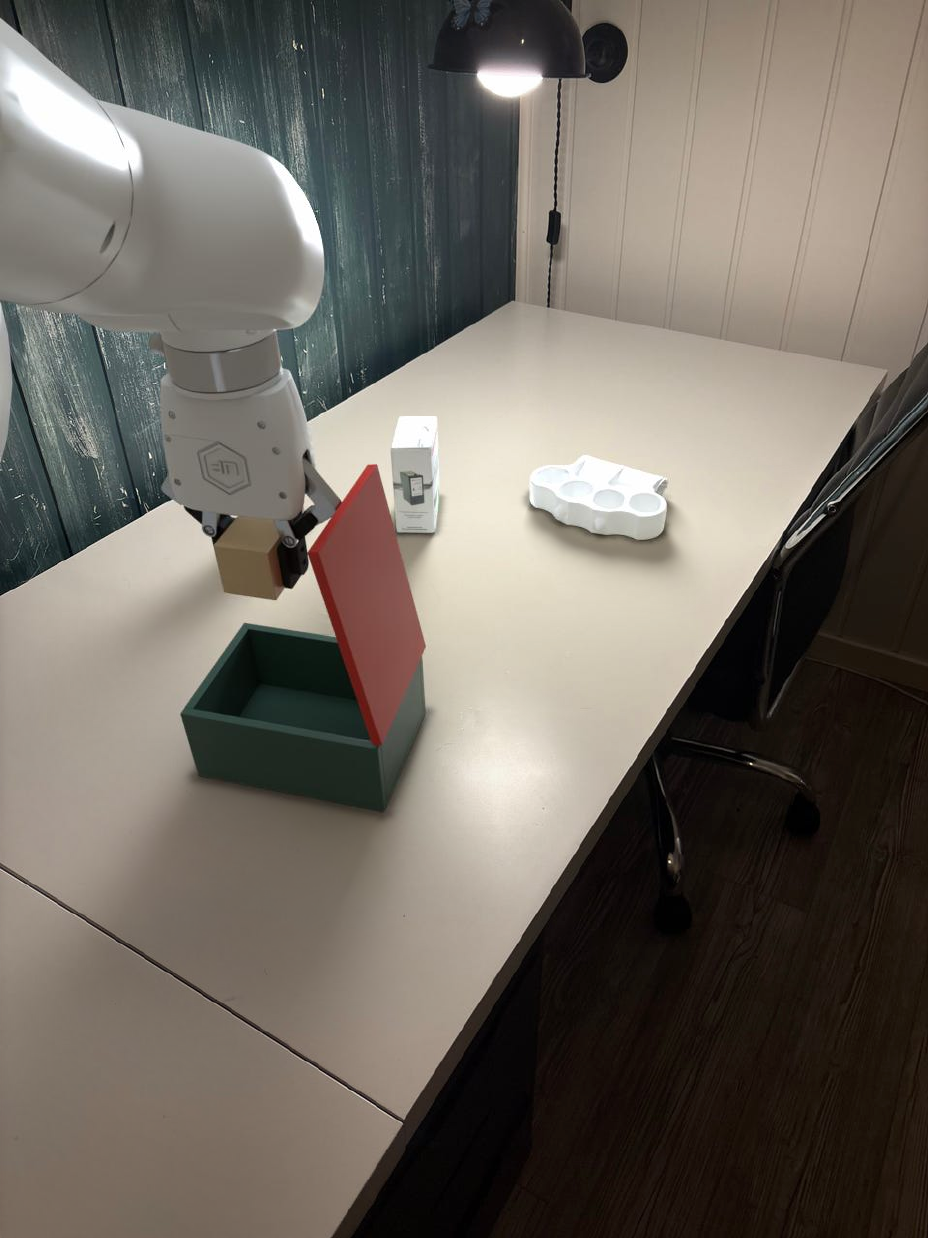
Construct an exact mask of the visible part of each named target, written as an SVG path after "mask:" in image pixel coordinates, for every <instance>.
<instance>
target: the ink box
mask: <svg viewBox="0 0 928 1238" xmlns="http://www.w3.org/2000/svg"><path fill="white" fill-rule="evenodd" d="M390 459H391V461H390V462H391V475H392V488H393V502H394V503H393V504H394V515H395V526H396V532H397V533H411V534H412V533H419V534H433V533H435V532H436V528H437V520H438V512H439V505H440V466H439V465H440V464H439V461H440V460H439V426H438V417H437V416H412V415H411V416H410V415H409V416H401V415H400V416H399V417H398V420H397V423H396V427H395V431H394V435H393V439H392V441H391V446H390Z"/></svg>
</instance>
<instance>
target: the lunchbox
mask: <svg viewBox="0 0 928 1238" xmlns="http://www.w3.org/2000/svg"><path fill="white" fill-rule="evenodd" d="M214 663H215V664H214V665H213V666H212V667H211V669H210V670H209V672H208V673H207V675H206V676H205V677H204V679H203V681H202V682H201V683H200V685H199V686H198V687H197V689H196V691H195V692H194V693H193V695H192V696H191V698H190V699H188V702H187V703H186V704H185V706H184V707H183V709H182V710H181V712H180V714H179V715H180V718H181V721H182V725H183V729H184V732H185V735H186V739H187V742H188V746H189V749H190V752H191V756H192V760H193V762H194V766H195V769H196V773H197V775H198V776H199V777H204V778H209V779H214V780H219V781H224V782H229V783H234V784H239V785H243V786H248V787H254V788H258V789H259V788H260V789H263V790H269V791H273V792H274V791H276V792H280V793H284V794H289V795H295V796H300V797H305V798H311V799H315V800H320V801H326V802H331V803H335V804H341V805H346V806H351V807H355V808H361V809H368V810H372V811H377V812H381V813H385V812H386V809H387V807H388V805H389V802H390V800H391V798H392V795H393V792H394V789H395V787H396V785H397V782H398V780H399V778H400V775H401V773H402V770H403V768H404V766H405V763H406V761H407V758H408V756H409V754H410V751H411V748H412V746H413V745H414V744H413V743H414V742H415V739H416V736H417V734H418V732H419V730H420V726H421V724H422V722H423V719H424V717H425V714H426V713H427V712H426V695H425V694H426V693H425V692H426V691H425V676H424V660H423V655H422V656H421V659H420V661H419V663H418V665H417V668H416V670H415V672H414V674H413V677H412V679H411V681H410V683H409V686H408V688H407V690H406V692H405V695H404V697H403V699H402V701H401V704H400V706H399V708H398V710H397V713H396V715H395V717H394V719H393V721H392V724H391V726H390V728H389V730H388V733H387V735H386V737H385V739H384V742H383V744H382V745H372V742H371V739H370V736H369V733H368V730H367V727H366V724H365V721H364V718H363V715H362V712H361V709H360V706H359V704H358V701H357V698H356V695H355V692H354V689H353V686H352V683H351V680H350V677H349V674H348V671H347V668H346V665H345V662H344V659H343V656H342V653H341V651H340V648H339V645H338V642H337V639H336V636H332V635H325V634H321V633H320V634H319V633H312V632H306V631H301V630H300V631H298V630H294V629H289V628H288V629H287V628H282V627H281V628H280V627H274V626H268V625H262V624H256V623H249V622H243V623H242V624H241V627H240V628H239V629H238V631H237V632H236V633H235V635H234V636H233V638H232V639H231V641H230V642H229V643H228V645H227V646H226V648H225V649H224V650H223V651H222V654H221V655H220V656H219V658H217V661H216V662H214Z"/></svg>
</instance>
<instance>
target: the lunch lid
mask: <svg viewBox="0 0 928 1238" xmlns="http://www.w3.org/2000/svg"><path fill="white" fill-rule="evenodd" d="M384 488H385V487H384V485H383V481H382V478H381V475H380V470H379V467H378V464H377V463H374V464H373V463H372V464H371V463H370V464H367V465H366V466H365V468H364V469H363V471H362V472H361V473H360V475H359V477H358V478H357V480H356V481H355V483H354V484H353V485H352V487H351V488H350V489H349V490H348V492H347V494H346V495H345V497H344V498H343V499H342V500H341V501H342V503H341V504H340V506H339V507H338V509H337V510H336V512H335V513H334V515H333V516H332V517H331V518H330V519H328V520H329V521H328V522H327V523H326V525H325V526H324V528H323V529H322V531H321V532H320V534H319V535H318V536H317V538H316V539H315V541H314V542H313V544H312V545H311V546H310V548H309V549H308V550H307V553H308V559H309V563H310V565H311V568H312V570H313V571H312V572H313V574H314V577H315V579H316V583H317V585H318V589H319V591H320V594H321V597H322V600H323V604H324V606H325V609H326V612H327V615H328V618H329V621H330V624H331V627H332V630H333V633H334V635H335V636H334V637H336V639H337V642H338V645H339V648H340V651H341V653H342V656H343V659H344V662H345V665H346V668H347V671H348V674H349V677H350V680H351V683H352V686H353V689H354V692H355V695H356V698H357V701H358V704H359V706H360V709H361V712H362V715H363V718H364V721H365V724H366V727H367V730H368V733H369V736H370V739H371V742H372V745H382V744H383V742H384V739H385V737H386V735H387V733H388V730H389V728H390V726H391V724H392V721H393V719H394V717H395V715H396V713H397V710H398V708H399V706H400V704H401V701H402V699H403V697H404V695H405V692H406V690H407V688H408V686H409V683H410V681H411V679H412V677H413V674H414V672H415V670H416V668H417V665H418V663H419V661H420V659H421V656H422V657H423V654H424V652H425V650H426V648H427V645H426V641H425V638H424V633H423V630H422V627H421V622H420V619H419V615H418V611H417V608H416V604H415V600H414V596H413V593H412V589H411V585H410V582H409V577H408V574H407V570H406V567H405V563H404V559H403V555H402V552H401V548H400V545H399V541H398V537H397V533H396V530H395V525H394V522H393V519H392V514H391V511H390V507H389V504H388V500H387V496H386V491H385V489H384Z"/></svg>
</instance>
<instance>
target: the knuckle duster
mask: <svg viewBox="0 0 928 1238" xmlns="http://www.w3.org/2000/svg"><path fill="white" fill-rule="evenodd" d="M668 486H669V479H668V478H667V477H665V476H662V475H655V474H651V473H648V472H644V471H641V470H638V469H633V468H630V467H629V466H626V465H620V464H618V463H613V462H609V461H605V460H602V459H598V458H596V457H593V456H590V455H586V454H585V455H582V456H580V457H579V458H578V459H577V460H576V461H575V462H573V464H569V465H568V464H567V465H545V466H542V467H538V468H537V469H534V471H533V472H532V473H531V475H530V477H529V502H530V504H531V505H532V506H533V508H535V509H541V510H544V511H547V512H549V513H550V514H551V515H552V516H553V517H554V518H555V520H556V521H559V522H561V523H563V524H564V525H567V526H575V527H580V528H582V529H585V530H587V531H588V532H589V533H591V534H596V535H597V534H598V535H604V536H610V535H620V536H626V537H629V538H633V539H635V540H636V541H645V540H651V539H655V538H657V537H658V536H660V535H661V534H662V533H663V531H664V530H665V524H666V517H667V511H668V510H667V509H668V505H667V504H668V503H667V501H666V500H665V498H664V497H663V496H664V494H665V492H666V490H667V488H668Z"/></svg>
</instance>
